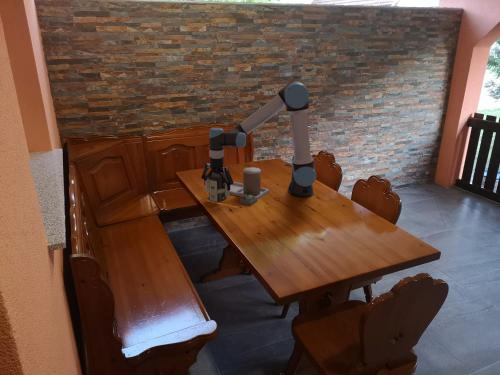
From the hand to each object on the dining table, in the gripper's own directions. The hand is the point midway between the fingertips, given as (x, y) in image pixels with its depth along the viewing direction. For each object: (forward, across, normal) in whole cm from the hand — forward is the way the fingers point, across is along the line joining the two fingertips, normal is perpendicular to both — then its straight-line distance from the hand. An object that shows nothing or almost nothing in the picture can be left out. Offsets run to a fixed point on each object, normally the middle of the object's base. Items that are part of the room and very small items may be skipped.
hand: (217, 193), depth 206 cm
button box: (+4, -18, -4) cm, 19 cm away
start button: (+2, -18, -4) cm, 19 cm away
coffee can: (+4, 0, 0) cm, 4 cm away
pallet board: (+4, -6, -16) cm, 18 cm away
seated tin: (+3, -13, -16) cm, 21 cm away
